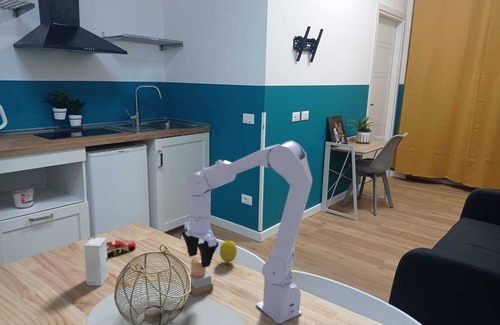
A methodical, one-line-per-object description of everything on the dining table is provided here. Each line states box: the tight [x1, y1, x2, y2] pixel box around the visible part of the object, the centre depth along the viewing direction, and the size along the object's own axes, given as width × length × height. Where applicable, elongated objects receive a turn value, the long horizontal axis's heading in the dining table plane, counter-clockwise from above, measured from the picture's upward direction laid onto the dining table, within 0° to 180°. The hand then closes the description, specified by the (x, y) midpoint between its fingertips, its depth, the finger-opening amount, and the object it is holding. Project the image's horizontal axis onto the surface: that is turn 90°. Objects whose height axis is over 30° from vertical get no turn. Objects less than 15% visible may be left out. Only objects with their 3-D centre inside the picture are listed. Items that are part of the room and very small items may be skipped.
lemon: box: [219, 239, 238, 264], centre depth 120 cm, size 6×6×8 cm
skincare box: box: [83, 237, 109, 287], centre depth 105 cm, size 6×4×12 cm
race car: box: [106, 239, 137, 259], centre depth 124 cm, size 13×5×4 cm, turn 132°
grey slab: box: [189, 270, 212, 289], centre depth 104 cm, size 5×5×2 cm
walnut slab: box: [189, 281, 214, 298], centre depth 104 cm, size 6×6×2 cm
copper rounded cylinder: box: [190, 257, 207, 278], centre depth 103 cm, size 4×4×4 cm
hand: (199, 260), depth 103 cm, fingers open, 7 cm apart
